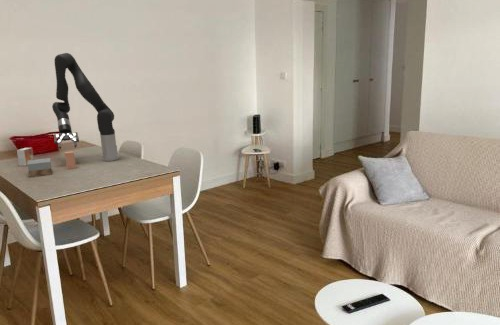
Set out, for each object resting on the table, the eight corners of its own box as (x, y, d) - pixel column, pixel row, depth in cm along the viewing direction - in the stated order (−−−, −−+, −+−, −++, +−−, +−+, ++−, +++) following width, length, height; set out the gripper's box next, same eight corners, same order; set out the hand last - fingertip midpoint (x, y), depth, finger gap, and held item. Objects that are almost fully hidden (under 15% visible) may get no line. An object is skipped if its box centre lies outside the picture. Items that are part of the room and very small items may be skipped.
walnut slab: (51, 170, 258) (50, 164, 257) (52, 175, 248) (51, 168, 247) (29, 173, 253) (28, 167, 252) (29, 178, 242) (28, 171, 242)
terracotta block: (75, 166, 265) (73, 151, 263) (75, 168, 261) (73, 152, 258) (66, 167, 263) (64, 152, 261) (67, 169, 259) (64, 153, 256)
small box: (26, 166, 271) (23, 150, 269) (18, 165, 272) (16, 149, 270) (35, 163, 279) (32, 147, 277) (27, 163, 280) (25, 147, 278)
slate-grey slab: (51, 164, 257) (50, 157, 256) (51, 168, 247) (50, 161, 246) (29, 166, 252) (28, 160, 251) (28, 171, 242) (27, 164, 241)
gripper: (52, 124, 265) (55, 145, 258) (76, 122, 271) (80, 142, 264) (52, 131, 271) (55, 152, 264) (76, 129, 277) (80, 149, 270)
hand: (67, 147), depth 264 cm, fingers open, 8 cm apart
